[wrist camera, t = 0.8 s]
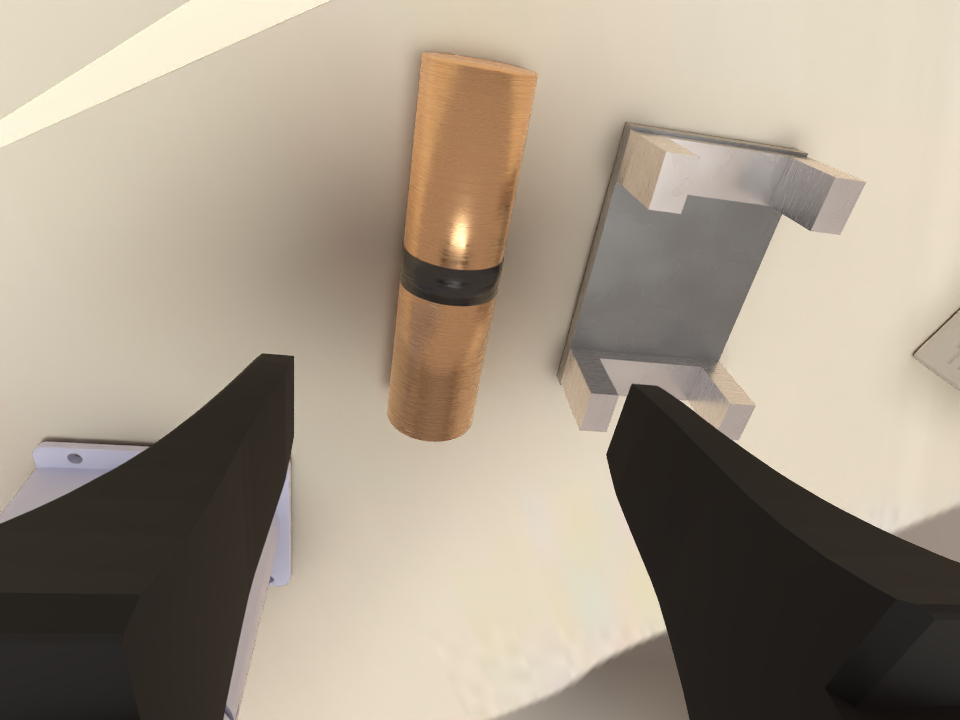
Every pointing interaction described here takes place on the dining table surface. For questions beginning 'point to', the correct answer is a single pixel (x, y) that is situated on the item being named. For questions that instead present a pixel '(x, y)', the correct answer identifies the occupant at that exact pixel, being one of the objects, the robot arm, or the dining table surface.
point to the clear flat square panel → (151, 57)
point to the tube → (455, 236)
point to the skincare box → (943, 352)
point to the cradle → (685, 266)
